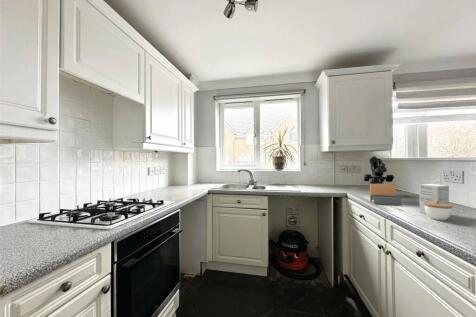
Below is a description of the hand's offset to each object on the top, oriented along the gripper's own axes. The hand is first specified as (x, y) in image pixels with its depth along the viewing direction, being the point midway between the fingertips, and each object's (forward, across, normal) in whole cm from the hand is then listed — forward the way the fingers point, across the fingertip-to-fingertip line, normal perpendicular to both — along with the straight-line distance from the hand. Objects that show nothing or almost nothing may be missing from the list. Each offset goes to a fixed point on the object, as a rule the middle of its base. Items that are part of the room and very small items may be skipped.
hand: (381, 186), depth 151 cm
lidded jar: (+37, +13, -21) cm, 44 cm away
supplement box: (+29, +17, -13) cm, 36 cm away
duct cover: (+3, 0, 0) cm, 3 cm away
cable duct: (+12, 0, +4) cm, 13 cm away
